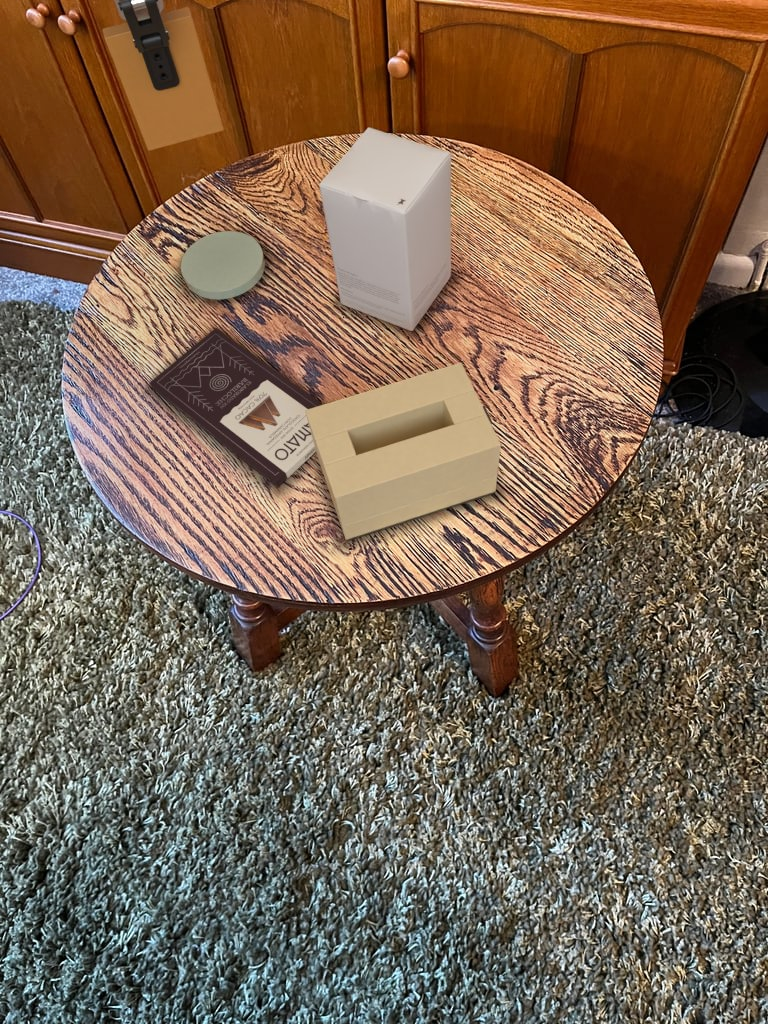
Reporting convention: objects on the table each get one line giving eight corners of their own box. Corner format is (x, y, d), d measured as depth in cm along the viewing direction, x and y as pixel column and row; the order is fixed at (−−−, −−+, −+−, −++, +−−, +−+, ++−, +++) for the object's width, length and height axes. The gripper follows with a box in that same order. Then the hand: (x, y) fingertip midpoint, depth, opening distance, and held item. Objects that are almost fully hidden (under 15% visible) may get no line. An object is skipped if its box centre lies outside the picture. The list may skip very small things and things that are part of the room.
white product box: (454, 275, 81) (455, 150, 68) (412, 334, 78) (405, 214, 65) (380, 248, 84) (368, 122, 71) (337, 303, 81) (315, 183, 67)
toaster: (346, 542, 67) (334, 497, 60) (318, 460, 72) (304, 410, 65) (504, 490, 69) (510, 441, 62) (467, 413, 73) (469, 359, 66)
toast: (148, 151, 69) (104, 38, 60) (145, 141, 69) (101, 28, 60) (224, 130, 69) (191, 15, 60) (220, 121, 70) (188, 6, 61)
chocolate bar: (215, 327, 79) (343, 418, 72) (218, 334, 80) (344, 424, 73) (149, 382, 76) (275, 482, 70) (152, 388, 77) (277, 487, 70)
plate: (192, 309, 82) (189, 301, 81) (177, 252, 86) (173, 244, 85) (273, 285, 83) (271, 277, 82) (254, 230, 87) (252, 221, 86)
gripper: (11, -210, 52) (110, 46, 67) (30, -120, 46) (134, 140, 61) (119, -235, 53) (193, 25, 68) (152, -149, 46) (225, 116, 62)
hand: (165, 79), depth 64 cm, fingers closed on toast, 1 cm apart
